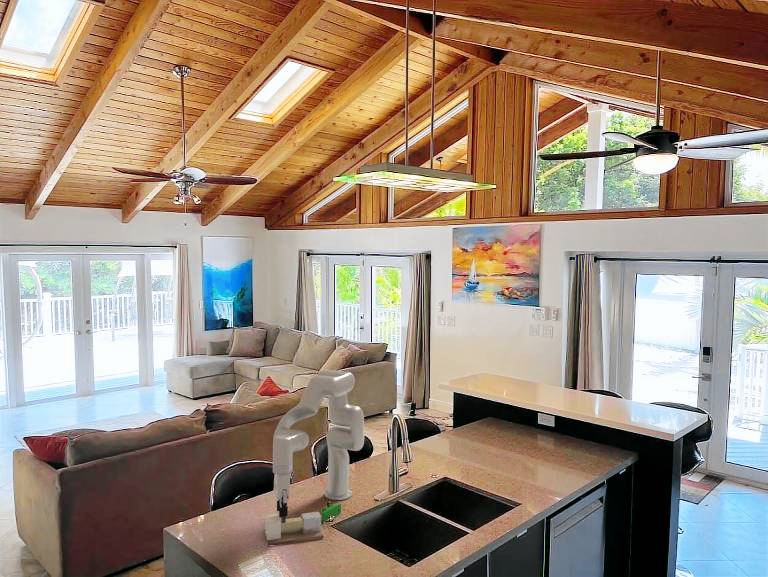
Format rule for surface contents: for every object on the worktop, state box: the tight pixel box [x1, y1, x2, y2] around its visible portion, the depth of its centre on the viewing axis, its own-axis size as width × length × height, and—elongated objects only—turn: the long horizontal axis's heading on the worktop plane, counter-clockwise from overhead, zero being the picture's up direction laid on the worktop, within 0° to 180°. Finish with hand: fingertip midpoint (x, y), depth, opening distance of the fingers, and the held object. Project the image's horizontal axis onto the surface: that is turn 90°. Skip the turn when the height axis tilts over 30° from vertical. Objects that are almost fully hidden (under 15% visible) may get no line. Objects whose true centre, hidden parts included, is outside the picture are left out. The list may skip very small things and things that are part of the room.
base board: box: [263, 528, 324, 547], centre depth 225 cm, size 12×21×1 cm, turn 109°
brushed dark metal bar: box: [280, 500, 303, 531], centre depth 225 cm, size 3×13×11 cm, turn 109°
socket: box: [264, 513, 281, 541], centre depth 223 cm, size 7×5×6 cm
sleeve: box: [300, 511, 322, 534], centre depth 227 cm, size 5×7×6 cm
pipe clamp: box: [321, 502, 342, 523], centre depth 242 cm, size 11×4×5 cm, turn 146°
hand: (282, 513), depth 223 cm, fingers open, 4 cm apart
